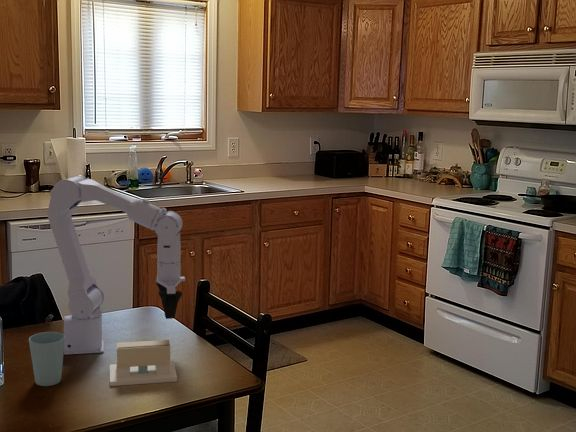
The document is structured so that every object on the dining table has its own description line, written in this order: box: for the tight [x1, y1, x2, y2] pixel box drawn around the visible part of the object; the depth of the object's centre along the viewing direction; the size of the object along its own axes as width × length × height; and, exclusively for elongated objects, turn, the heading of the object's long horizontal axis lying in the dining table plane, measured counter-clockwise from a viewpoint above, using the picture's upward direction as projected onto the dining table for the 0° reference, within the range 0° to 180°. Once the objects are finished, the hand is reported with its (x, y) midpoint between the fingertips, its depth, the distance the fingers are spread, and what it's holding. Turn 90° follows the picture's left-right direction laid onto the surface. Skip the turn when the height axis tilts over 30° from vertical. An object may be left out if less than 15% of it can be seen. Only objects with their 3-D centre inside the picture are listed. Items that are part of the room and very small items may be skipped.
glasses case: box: [116, 339, 171, 368], centre depth 160 cm, size 12×4×5 cm, turn 104°
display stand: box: [109, 358, 178, 387], centre depth 161 cm, size 15×10×3 cm, turn 104°
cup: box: [28, 331, 65, 387], centre depth 155 cm, size 8×8×10 cm
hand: (168, 313), depth 173 cm, fingers open, 7 cm apart
